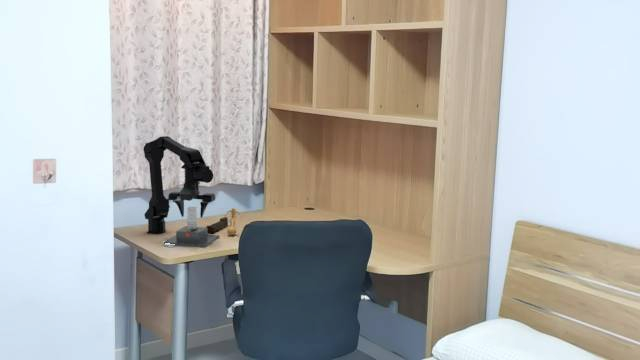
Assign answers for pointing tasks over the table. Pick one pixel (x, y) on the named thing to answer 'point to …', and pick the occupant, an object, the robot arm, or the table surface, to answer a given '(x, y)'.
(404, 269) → the table surface
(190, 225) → the column
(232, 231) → the figurine
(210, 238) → the stand
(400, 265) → the table surface
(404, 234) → the table surface
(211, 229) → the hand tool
